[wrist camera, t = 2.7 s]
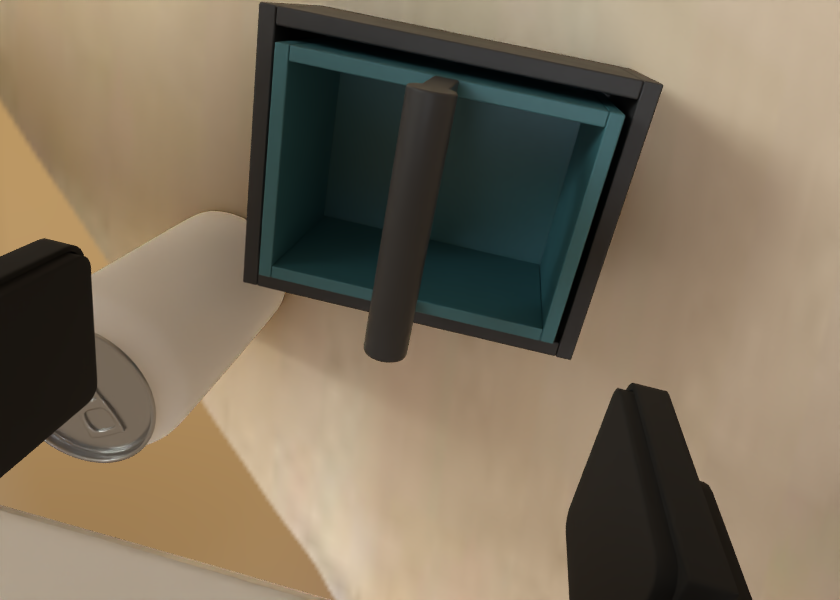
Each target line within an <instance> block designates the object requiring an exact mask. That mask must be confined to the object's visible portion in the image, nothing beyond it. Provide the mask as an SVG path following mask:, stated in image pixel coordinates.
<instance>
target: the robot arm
mask: <svg viewBox="0 0 840 600" xmlns="http://www.w3.org/2000/svg"><path fill="white" fill-rule="evenodd" d="M96 389H97V366H96V348H95V331H94V314H93V296H92V279H91V265H90V262H89V260H88V258H86V257H85V256H84V254H83V252H82V251H81V249H80V248H78V247H77V246H74V245H70V244H66V243H62V242H57V241H54V240H49V239H45V238H44V239H40V240H37V241H35V242H32V243H30V244H28V245H26V246H23V247H21V248H19V249H16V250H14V251H12V252H10V253H7V254H5V255H3V256H0V478H1V477H2V476H3V475H4V474H5V473H7V472H8V471H9V470H10V469H11V468H13V467H14V466H15V465H16V464H17V463H18V462H20V461H21V460H22V459H23V458H24V457H26V456H27V455H28V454H29V453H30V452H31V451H33V450H34V449H35V448H36V447H37V446H39V445H40V444H41V443H42V442H43V441H44V440H46V439H47V438H48V437H49V436H50V435H52V434H53V433H54V432H55V431H56V430H57V429H59V428H60V427H61V426H62V425H63V424H64V423H66V422H67V421H68V420H69V419H70V418H72V417H73V416H74V415H75V414H76V413H77V412H79V411H80V410H81V409H82V408H83V407H85V406H86V405H87V404H88V403H89V402H90V401H91V400H92V398H93V396H94V394H95V392H96ZM566 544H567V562H568V581H569V599H570V600H752V597H751V595H750V592H749V589H748V587H747V584H746V581H745V579H744V576H743V573H742V570H741V568H740V565H739V562H738V560H737V557H736V554H735V552H734V549H733V546H732V543H731V541H730V538H729V535H728V533H727V530H726V527H725V525H724V522H723V519H722V516H721V514H720V511H719V508H718V506H717V503H716V500H715V498H714V495H713V492H712V491H711V489H710V487H709V485H707V484H706V483H704V482H702V481H699V478H698V476H697V473H696V470H695V467H694V464H693V461H692V458H691V456H690V453H689V450H688V447H687V444H686V441H685V438H684V436H683V433H682V430H681V427H680V424H679V421H678V419H677V416H676V413H675V410H674V407H673V404H672V401H671V399H670V396H669V394H668V392H667V391H663V390H659V389H655V388H651V387H647V386H643V385H639V384H635V383H631V384H630V385H629V386H628V388H627V389H626V390H623V389H619V388H617V389H616V390H615V392H614V394H613V396H612V398H611V401H610V403H609V406H608V409H607V411H606V414H605V416H604V419H603V422H602V424H601V427H600V430H599V432H598V435H597V437H596V440H595V443H594V445H593V448H592V450H591V453H590V456H589V458H588V461H587V464H586V466H585V469H584V471H583V474H582V477H581V479H580V482H579V484H578V487H577V490H576V492H575V495H574V497H573V500H572V503H571V505H570V508H569V511H568V516H567V521H566ZM0 600H330V599H326V598H323V597H320V596H316V595H313V594H310V593H306V592H303V591H299V590H296V589H292V588H289V587H286V586H282V585H279V584H275V583H272V582H268V581H265V580H262V579H258V578H254V577H251V576H248V575H244V574H241V573H238V572H234V571H230V570H227V569H224V568H220V567H217V566H213V565H210V564H206V563H203V562H199V561H196V560H192V559H188V558H185V557H182V556H178V555H174V554H171V553H168V552H164V551H160V550H157V549H154V548H150V547H147V546H143V545H140V544H136V543H132V542H129V541H126V540H122V539H119V538H115V537H112V536H108V535H105V534H101V533H98V532H94V531H91V530H87V529H84V528H80V527H76V526H73V525H69V524H66V523H62V522H59V521H55V520H52V519H48V518H45V517H41V516H38V515H34V514H31V513H27V512H23V511H20V510H17V509H13V508H9V507H6V506H2V505H0Z"/></svg>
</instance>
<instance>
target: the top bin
mask: <svg viewBox="0 0 840 600" xmlns="http://www.w3.org/2000/svg"><path fill="white" fill-rule="evenodd" d="M624 119H625V115H624V114H623V113H622V112H621V111H620V110H619V109H618V108H617V107H616V106H615V105H614V104H613V103H612V102H611V101H610V100H609V99H608V98H607V97H606V96H605V95H604V94H603V93H601V92H596V91H592V90H587V89H582V88H577V87H572V86H567V85H563V84H558V83H553V82H548V81H543V80H539V79H534V78H529V77H524V76H519V75H514V74H510V73H505V72H500V71H495V70H490V69H485V68H481V67H476V66H471V65H466V64H461V63H456V62H452V61H447V60H442V59H437V58H432V57H428V56H423V55H418V54H413V53H408V52H403V51H399V50H394V49H389V48H384V47H379V46H374V45H370V44H365V43H360V42H355V41H350V40H345V39H341V38H336V37H324V38H313V39H302V40H291V41H280V42H275V50H274V64H273V78H272V93H271V107H270V121H269V135H268V149H267V163H266V177H265V191H264V205H263V219H262V233H261V247H260V261H259V275H263V276H267V277H272V278H275V279H280V280H284V281H288V282H292V283H297V284H301V285H305V286H309V287H314V288H318V289H322V290H326V291H331V292H335V293H339V294H343V295H348V296H352V297H356V298H360V299H364V300H369V301H371V305H370V311H369V317H368V323H367V329H366V335H365V342H364V350H365V352H366V354H367V355H368V356H370V357H371V358H373V359H375V360H378V361H381V362H398V361H401V360H402V359H404V358H405V356H406V355H407V350H408V345H409V340H410V335H411V330H412V325H413V320H414V315H415V312H420V313H424V314H428V315H432V316H437V317H441V318H445V319H449V320H454V321H458V322H462V323H466V324H471V325H475V326H479V327H483V328H488V329H492V330H496V331H500V332H504V333H509V334H513V335H517V336H521V337H526V338H530V339H534V340H540V341H543V342H547V343H551V344H553V343H554V340H555V336H556V333H557V330H558V327H559V324H560V321H561V318H562V314H563V311H564V308H565V305H566V302H567V299H568V296H569V292H570V289H571V286H572V283H573V280H574V277H575V274H576V270H577V267H578V264H579V261H580V258H581V255H582V251H583V248H584V245H585V242H586V239H587V236H588V233H589V229H590V226H591V223H592V220H593V217H594V214H595V211H596V207H597V204H598V201H599V198H600V195H601V192H602V189H603V185H604V182H605V179H606V176H607V173H608V170H609V167H610V163H611V160H612V157H613V154H614V151H615V148H616V144H617V141H618V138H619V135H620V132H621V129H622V126H623V122H624Z"/></svg>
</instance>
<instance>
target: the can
mask: <svg viewBox="0 0 840 600" xmlns="http://www.w3.org/2000/svg"><path fill="white" fill-rule="evenodd" d="M246 222H247V220H246V219H244V218H242V217H240V216H237V215H234V214H231V213H226V212H221V211H207V212H203V213H199V214H197V215H194V216H192V217H190V218H188V219H186V220H184V221H183V222H181V223H179V224H177V225H176V226H174V227H172V228H170V229H169V230H167V231H165V232H163V233H162V234H160V235H158V236H156V237H155V238H153V239H151V240H150V241H148V242H146V243H144V244H143V245H141V246H139V247H138V248H136V249H134V250H132V251H131V252H129V253H127V254H126V255H124V256H122V257H120V258H119V259H117V260H115V261H114V262H112V263H110V264H109V265H107V266H105V267H104V268H102V269H100V270H99V271H97V272H95V273H93V274H92V275H91V279H92V296H93V314H94V331H95V348H96V366H97V389H96V392H95V394H94V396H93V398H92V400H91V401H90V402H89V403H88V404H87V405H86V406H85V407H83V408H82V409H81V410H80V411H79V412H77V413H76V414H75V415H74V416H73V417H72V418H70V419H69V420H68V421H67V422H66V423H64V424H63V425H62V426H61V427H60V428H59V429H57V430H56V431H55V432H54V433H53V434H52V435H50V436H49V437H48V438H47V439H46V440H44V441H45V442H46V443H47V444H49V445H50V446H52V447H54V448H55V449H57V450H59V451H61V452H63V453H65V454H67V455H70V456H72V457H75V458H78V459H81V460H85V461H90V462H98V463H110V462H117V461H122V460H125V459H127V458H130V457H132V456H134V455H135V454H137V453H138V452H140V451H141V450H142V449H143V448H144V447H145V445H148V444H150V443H153V442H155V441H157V440H160V439H161V438H163V437H165V436H166V435H168V434H169V433H170V432H171V431H173V430H174V429H175V428H176V427H177V426H178V425H179V424H180V423H181V422H182V421H183V420H184V419H185V418H186V416H187V415H188V414H189V413H190V412H191V411H192V410H193V409H194V407H195V406H196V405H197V404H198V403H199V402H200V401H201V399H202V398H203V397H204V396H205V395H206V394H207V392H208V391H209V390H210V389H211V388H212V387H213V386H214V384H215V383H216V382H217V381H218V380H219V379H220V377H221V376H222V375H223V374H224V373H225V372H226V370H227V369H228V368H229V367H230V366H231V365H232V363H233V362H234V361H235V360H236V359H237V358H238V356H239V355H240V354H241V353H242V352H243V351H244V349H245V348H246V347H247V346H248V345H249V343H250V342H251V341H252V340H253V339H254V338H255V336H256V335H257V334H258V333H259V332H260V330H261V329H262V328H263V327H264V326H265V325H266V323H267V322H268V321H269V320H270V319H271V317H272V316H273V315H274V313H275V312H276V311H277V309H278V308H279V306H280V304H281V303H282V300H283V298H284V294H285V292H283V291H278V290H274V289H270V288H266V287H261V286H258V284H257V285H253V284H249V283H245V282H243V273H244V256H245V239H246Z"/></svg>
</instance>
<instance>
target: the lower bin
mask: <svg viewBox="0 0 840 600" xmlns="http://www.w3.org/2000/svg"><path fill="white" fill-rule="evenodd" d="M324 37H336V38H341V39H345V40H350V41H355V42H360V43H365V44H370V45H374V46H379V47H384V48H389V49H394V50H399V51H403V52H408V53H413V54H418V55H423V56H428V57H432V58H437V59H442V60H447V61H452V62H456V63H461V64H466V65H471V66H476V67H481V68H485V69H490V70H495V71H500V72H505V73H510V74H514V75H519V76H524V77H529V78H534V79H539V80H543V81H548V82H553V83H558V84H563V85H567V86H572V87H577V88H582V89H587V90H592V91H596V92H601V93H603V94H604V95H605V96H606V97H607V98H608V99H609V100H610V101H611V102H612V103H613V104H614V105H615V106H616V107H617V108H618V109H619V110H620V111H621V112H622V113H623V114H624V115H625V119H624V122H623V126H622V129H621V132H620V135H619V138H618V141H617V144H616V148H615V151H614V154H613V157H612V160H611V163H610V167H609V170H608V173H607V176H606V179H605V182H604V185H603V189H602V192H601V195H600V198H599V201H598V204H597V207H596V211H595V214H594V217H593V220H592V223H591V226H590V229H589V233H588V236H587V239H586V242H585V245H584V248H583V251H582V255H581V258H580V261H579V264H578V267H577V270H576V274H575V277H574V280H573V283H572V286H571V289H570V292H569V296H568V299H567V302H566V305H565V308H564V311H563V314H562V318H561V321H560V324H559V327H558V330H557V333H556V336H555V340H554V343H553V344H551V343H547V342H543V341H540V340H534V339H530V338H526V337H521V336H517V335H513V334H509V333H504V332H500V331H496V330H492V329H488V328H483V327H479V326H475V325H471V324H466V323H462V322H458V321H454V320H449V319H445V318H441V317H437V316H432V315H428V314H424V313H420V312H415V315H414V320H413V323H418V324H422V325H426V326H430V327H435V328H439V329H443V330H447V331H451V332H456V333H460V334H464V335H468V336H472V337H477V338H481V339H485V340H489V341H494V342H498V343H502V344H506V345H510V346H515V347H519V348H523V349H527V350H532V351H536V352H540V353H544V354H548V355H553V356H555V355H556V356H557V357H560V358H564V359H569V360H571V358H572V355H573V352H574V349H575V346H576V343H577V340H578V337H579V334H580V331H581V328H582V325H583V322H584V319H585V316H586V314H587V311H588V308H589V305H590V302H591V299H592V296H593V293H594V290H595V287H596V284H597V281H598V278H599V275H600V272H601V269H602V266H603V263H604V260H605V257H606V254H607V251H608V248H609V245H610V242H611V239H612V236H613V233H614V230H615V227H616V224H617V221H618V219H619V216H620V213H621V210H622V207H623V204H624V201H625V198H626V195H627V192H628V189H629V186H630V183H631V180H632V177H633V174H634V171H635V168H636V165H637V162H638V159H639V156H640V153H641V150H642V147H643V144H644V141H645V138H646V135H647V132H648V129H649V126H650V123H651V121H652V118H653V115H654V112H655V109H656V106H657V103H658V100H659V97H660V94H661V91H662V88H663V85H662V84H661V83H659V82H657V81H655V80H653V79H650V78H648V77H646V76H644V75H642V74H640V73H638V72H636V71H634V70H632V69H629V68H624V67H619V66H614V65H609V64H604V63H600V62H595V61H590V60H585V59H580V58H575V57H570V56H565V55H560V54H555V53H550V52H546V51H541V50H536V49H531V48H526V47H521V46H516V45H511V44H506V43H501V42H497V41H492V40H487V39H482V38H477V37H472V36H467V35H462V34H457V33H452V32H448V31H443V30H438V29H433V28H428V27H423V26H418V25H413V24H408V23H403V22H399V21H394V20H389V19H384V18H379V17H374V16H369V15H364V14H359V13H354V12H350V11H345V10H340V9H335V8H330V7H325V6H317V5H301V4H285V3H269V2H260V4H259V20H258V36H257V53H256V70H255V87H254V104H253V121H252V138H251V155H250V171H249V188H248V205H247V222H246V239H245V256H244V273H243V282H245V283H249V284H253V285H257V284H258V286H261V287H266V288H270V289H274V290H278V291H283V292H287V293H291V294H295V295H299V296H304V297H308V298H312V299H316V300H321V301H325V302H329V303H333V304H337V305H342V306H346V307H350V308H354V309H359V310H363V311H367V312H369V311H370V305H371V301H369V300H364V299H360V298H356V297H352V296H348V295H343V294H339V293H335V292H331V291H326V290H322V289H318V288H314V287H309V286H305V285H301V284H297V283H292V282H288V281H284V280H280V279H275V278H272V277H267V276H263V275H259V261H260V247H261V233H262V219H263V205H264V191H265V177H266V163H267V149H268V135H269V121H270V107H271V93H272V78H273V64H274V50H275V42H280V41H291V40H302V39H313V38H324Z"/></svg>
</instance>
